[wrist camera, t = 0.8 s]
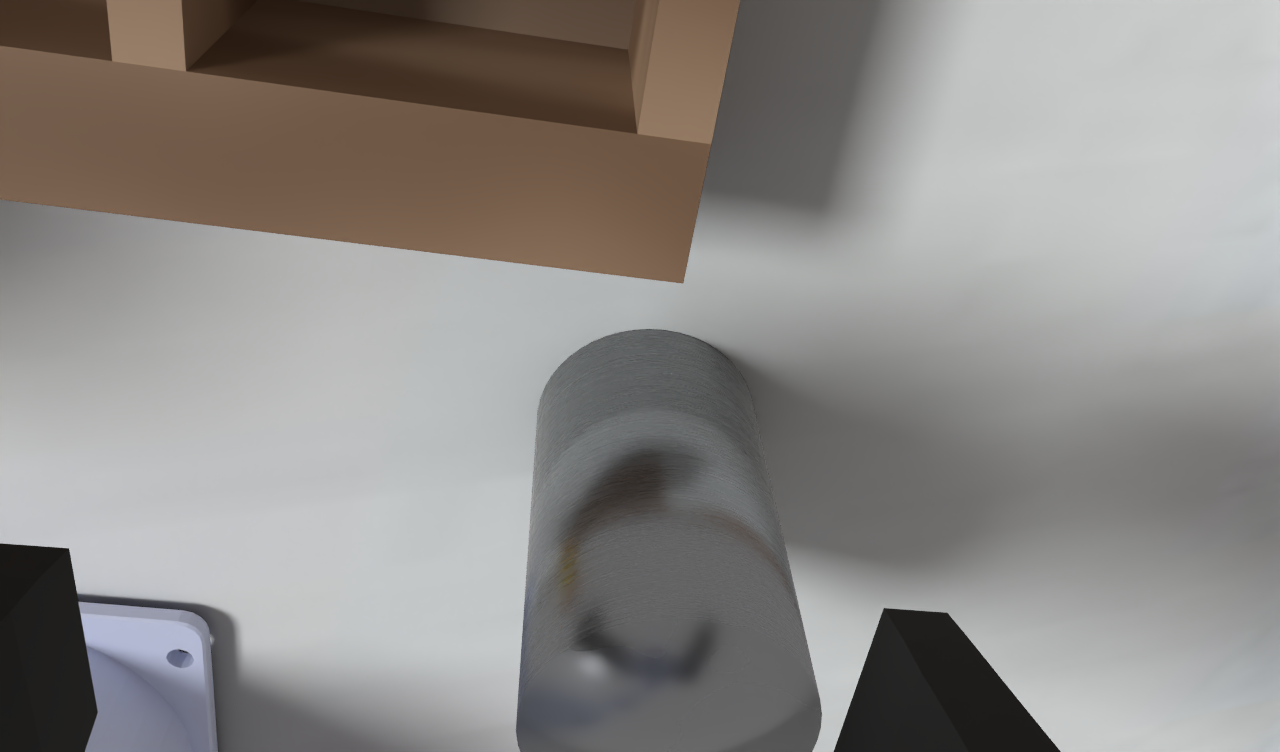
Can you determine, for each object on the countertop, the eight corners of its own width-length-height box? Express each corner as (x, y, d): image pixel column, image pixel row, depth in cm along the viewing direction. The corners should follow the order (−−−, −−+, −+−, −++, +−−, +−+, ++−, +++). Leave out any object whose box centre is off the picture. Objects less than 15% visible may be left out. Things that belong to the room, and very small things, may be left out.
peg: (729, 517, 22) (783, 832, 16) (526, 496, 21) (502, 814, 15) (774, 343, 19) (856, 633, 14) (549, 316, 19) (532, 604, 13)
